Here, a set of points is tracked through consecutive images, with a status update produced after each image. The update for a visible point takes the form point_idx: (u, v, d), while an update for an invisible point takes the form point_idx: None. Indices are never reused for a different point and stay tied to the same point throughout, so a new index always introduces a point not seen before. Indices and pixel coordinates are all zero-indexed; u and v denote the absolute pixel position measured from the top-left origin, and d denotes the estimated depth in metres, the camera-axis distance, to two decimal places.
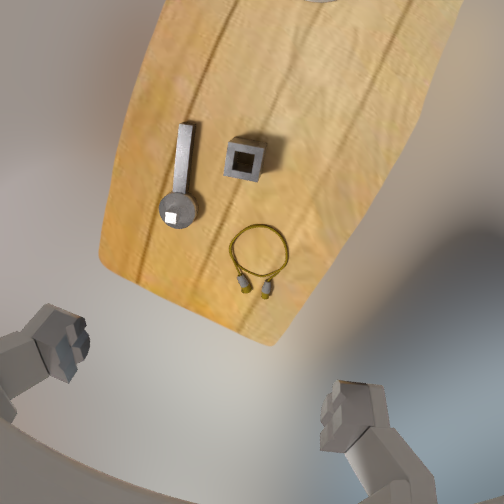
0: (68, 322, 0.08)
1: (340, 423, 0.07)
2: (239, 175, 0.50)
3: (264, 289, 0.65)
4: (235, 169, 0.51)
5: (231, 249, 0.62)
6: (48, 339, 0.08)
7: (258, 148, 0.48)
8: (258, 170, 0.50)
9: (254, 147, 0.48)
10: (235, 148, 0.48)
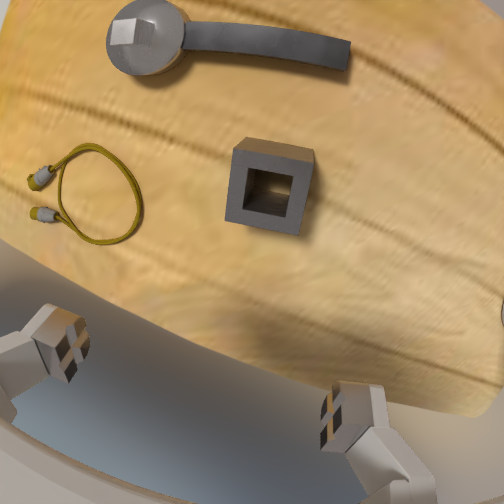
0: (68, 322, 0.08)
1: (340, 423, 0.07)
2: (236, 183, 0.23)
3: (42, 214, 0.32)
4: (248, 171, 0.23)
5: (86, 149, 0.28)
6: (48, 339, 0.08)
7: (298, 224, 0.24)
8: (250, 223, 0.24)
9: (300, 216, 0.23)
10: (298, 177, 0.22)
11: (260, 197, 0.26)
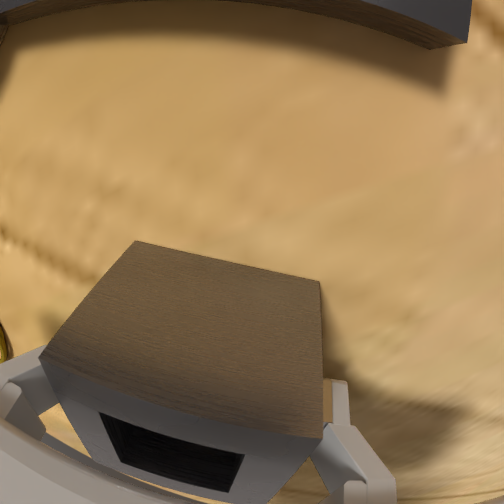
0: None
1: None
2: (85, 427, 0.06)
3: None
4: None
5: None
6: None
7: (262, 501, 0.07)
8: (147, 480, 0.08)
9: (267, 494, 0.07)
10: (262, 458, 0.06)
11: None
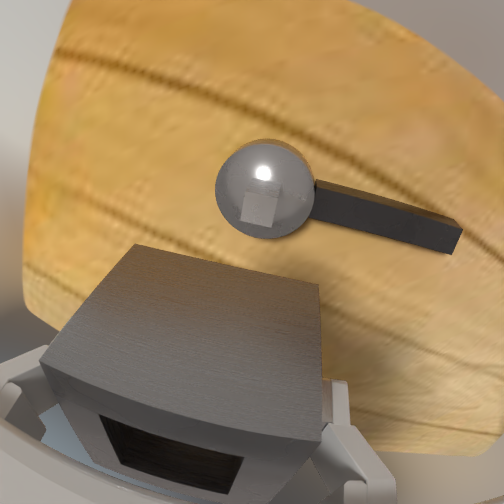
0: None
1: None
2: (85, 429, 0.06)
3: None
4: None
5: None
6: None
7: (261, 502, 0.07)
8: (147, 481, 0.08)
9: (267, 496, 0.07)
10: (261, 460, 0.06)
11: None
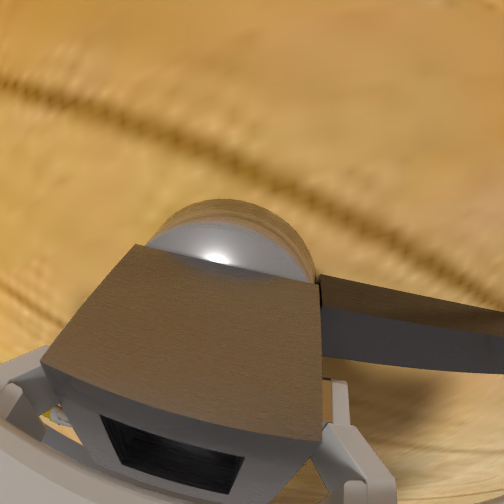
0: None
1: None
2: (86, 429, 0.06)
3: (57, 420, 0.22)
4: None
5: None
6: None
7: (262, 502, 0.07)
8: (148, 481, 0.08)
9: (267, 496, 0.07)
10: (262, 460, 0.06)
11: None
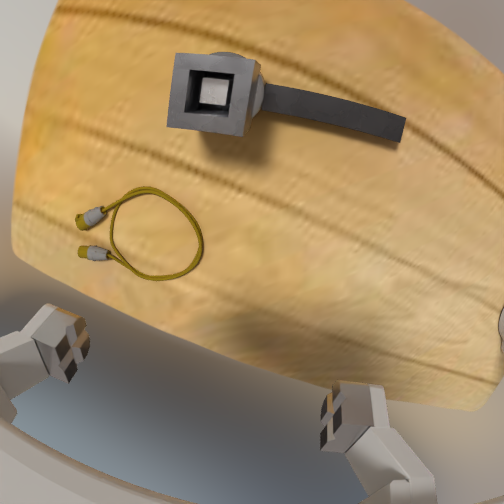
0: (68, 322, 0.08)
1: (340, 423, 0.07)
2: (177, 87, 0.20)
3: (93, 253, 0.35)
4: (191, 76, 0.20)
5: None
6: (48, 339, 0.08)
7: (242, 124, 0.21)
8: (192, 126, 0.21)
9: (244, 116, 0.21)
10: (240, 75, 0.19)
11: (206, 110, 0.24)
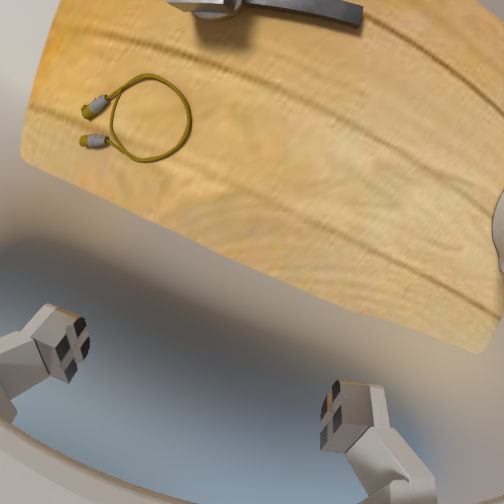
0: (68, 322, 0.08)
1: (340, 423, 0.07)
2: None
3: (93, 138, 0.37)
4: None
5: None
6: (48, 339, 0.08)
7: None
8: (185, 0, 0.22)
9: None
10: None
11: None
